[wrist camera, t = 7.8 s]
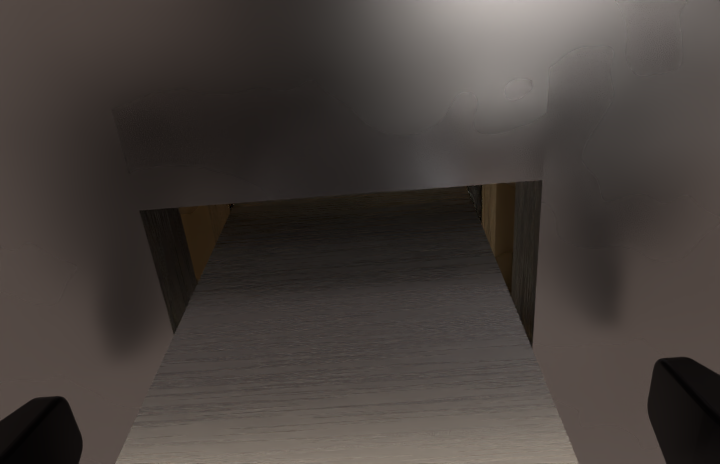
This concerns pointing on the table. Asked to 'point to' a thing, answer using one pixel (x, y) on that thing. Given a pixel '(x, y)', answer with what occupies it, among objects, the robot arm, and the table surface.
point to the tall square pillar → (350, 344)
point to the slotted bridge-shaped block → (360, 176)
